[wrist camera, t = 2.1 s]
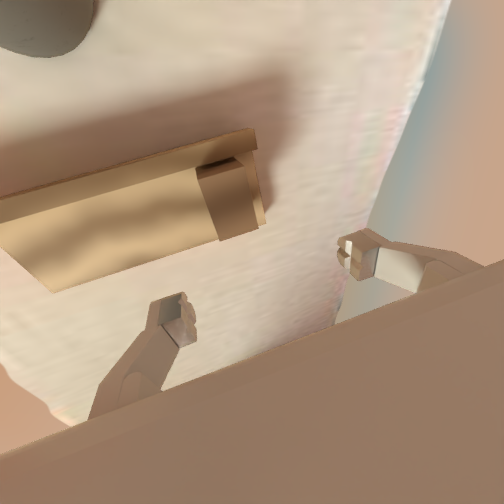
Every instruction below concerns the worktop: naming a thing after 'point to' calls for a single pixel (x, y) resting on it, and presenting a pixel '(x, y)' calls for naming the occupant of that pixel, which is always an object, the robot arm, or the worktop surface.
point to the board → (119, 213)
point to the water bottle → (44, 26)
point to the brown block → (227, 197)
